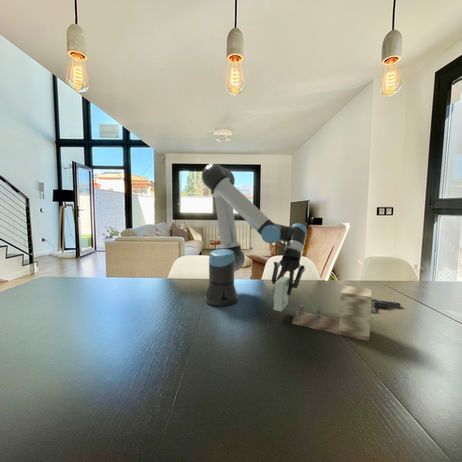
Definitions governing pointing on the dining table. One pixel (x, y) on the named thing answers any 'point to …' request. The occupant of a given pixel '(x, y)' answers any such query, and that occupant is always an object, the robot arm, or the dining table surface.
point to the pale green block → (280, 293)
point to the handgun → (383, 305)
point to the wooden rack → (343, 315)
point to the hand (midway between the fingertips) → (279, 300)
